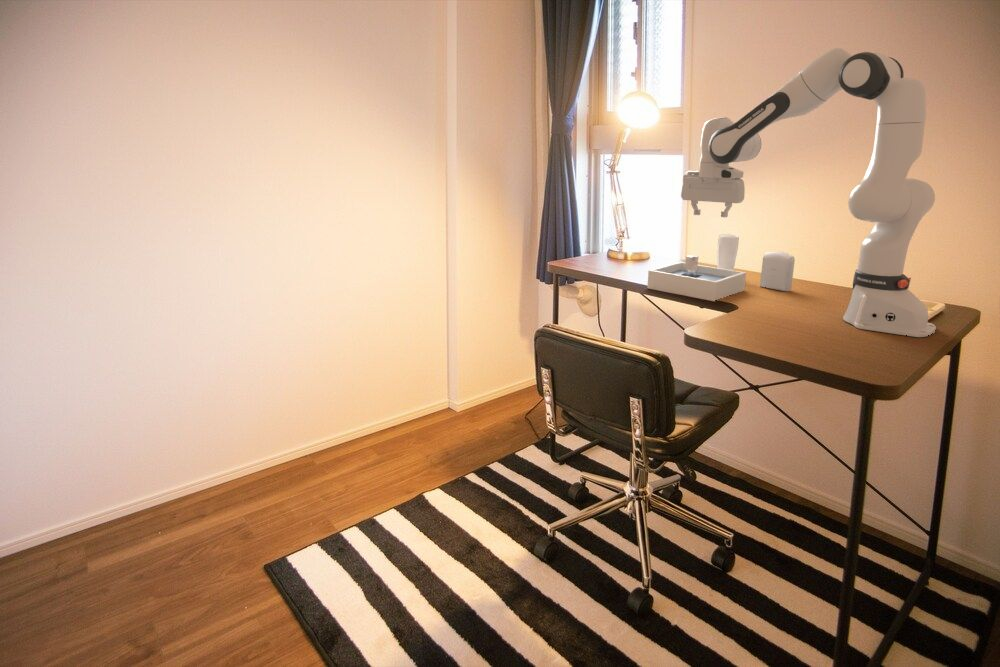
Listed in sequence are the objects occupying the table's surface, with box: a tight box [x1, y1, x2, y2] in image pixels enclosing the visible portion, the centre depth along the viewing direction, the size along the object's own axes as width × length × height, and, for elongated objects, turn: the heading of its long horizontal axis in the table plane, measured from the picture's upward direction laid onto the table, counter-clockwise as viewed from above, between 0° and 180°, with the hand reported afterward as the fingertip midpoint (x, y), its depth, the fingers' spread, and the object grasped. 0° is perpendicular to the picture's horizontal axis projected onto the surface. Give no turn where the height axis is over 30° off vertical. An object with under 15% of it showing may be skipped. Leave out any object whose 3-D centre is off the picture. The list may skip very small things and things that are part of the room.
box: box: [646, 261, 747, 302], centre depth 233 cm, size 24×20×6 cm
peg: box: [684, 254, 699, 278], centre depth 237 cm, size 4×4×10 cm
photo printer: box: [759, 250, 796, 292], centre depth 234 cm, size 10×4×12 cm, turn 39°
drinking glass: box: [716, 233, 740, 271], centre depth 247 cm, size 7×7×15 cm
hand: (710, 216), depth 228 cm, fingers open, 8 cm apart
